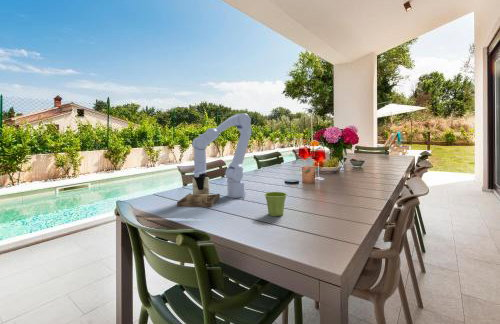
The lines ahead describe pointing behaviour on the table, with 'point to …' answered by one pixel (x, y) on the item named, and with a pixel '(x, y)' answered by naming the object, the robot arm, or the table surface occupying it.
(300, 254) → the table surface
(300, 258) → the table surface
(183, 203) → the walnut rack
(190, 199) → the oak offcuts
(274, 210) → the plant pot
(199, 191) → the birch block
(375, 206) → the table surface
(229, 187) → the robot arm
